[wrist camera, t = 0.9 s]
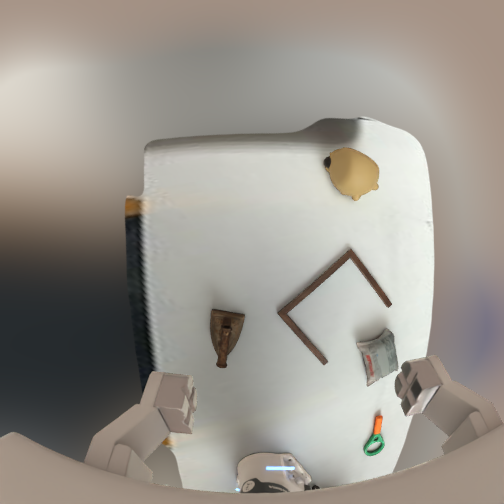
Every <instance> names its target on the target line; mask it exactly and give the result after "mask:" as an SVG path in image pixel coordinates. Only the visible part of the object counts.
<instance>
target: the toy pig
mask: <svg viewBox="0 0 504 504" xmlns="http://www.w3.org/2000/svg"><path fill="white" fill-rule="evenodd" d="M324 165H325V168H326V170H327V171H328V172H329V173H330V178H331V181H332V183H333V185H334V186H335V187H336V188H337V189H338V190H339V191H340V192H341V194H342V195H348V196H352V199H353V200H354V201H357V200H359V198H360V196H361V195H364V194H366V193H368V192H370V191H371V190H377V189H378V187H379V186H378V184H377V182H378V178H379V168H378V165H377V164H376V163H375V162H374V161H373V160H372V159H371V158H369V157H368V156H366V155H365V154H363V153H361V152H359V151H357V150H354V149H351V148H345V147H343V148H342V149H337V150H335V151H333V152H332V153H330V156H329V157H326V158H325V160H324Z"/></svg>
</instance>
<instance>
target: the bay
mask: <svg viewBox="0 0 504 504" xmlns="http://www.w3.org/2000/svg"><path fill="white" fill-rule="evenodd" d="M349 258H351V260H352V261H353V262H354V264H355V265H356V266H357V267H358V269H359V270H360V271H361V273H362V274H363V275H364V277H365V278H366V279H367V281H368V282H369V283H370V285H371V286H372V287H373V289H374V290H375V291H376V293H377V294H378V296H379V297H380V298H381V300H382V301H383V302H384V304H385V305H386V307H388V308H389V307H390V306H391V305H392V303H391V302H390V301H389V299H388V298H387V296H386V295H385V293H384V292H383V291H382V289H381V288H380V286H379V285H378V284H377V282H376V281H375V280H374V278H373V277H372V276H371V274H370V273H369V272H368V270H367V269H366V268H365V266H364V265H363V264H362V262H361V261H360V260H359V258H358V257H357V256H356V254H355V253H354V252H353V251H352V249H350V250H348V251H347V252H346V253H345V254H344V255H343V256H342V257H341V258H340V259H339V260H338V261H337V262H335V263H334V264H333V265H332V266H331V267H330V268H329V269H328V270H327V271H325V272H324V273H323V274H322V275H321V276H320V277H319V278H318V279H316V280H315V281H314V282H313V283H312V284H311V285H310V286H308V287H307V288H306V289H305V290H304V291H303V292H302V293H300V294H299V295H298V296H297V297H296V298H295V299H293V300H292V301H291V302H290V303H289V304H287V305H286V306H285V307H284V308H283V309H281V310H280V311H279V312H278V315H279V316H280V317H281V318H282V319H283V320H284V321H285V323H286V324H287V325H288V326H289V327H290V328H291V329H292V330H293V332H294V333H295V334H296V335H297V336H298V337H299V338H300V339H301V341H302V342H303V343H304V344H305V345H306V346H307V347H308V348H309V349H310V351H311V352H312V353H313V354H314V355H315V356H316V357H317V358H318V359H319V361H320V362H321V363H322V364H323V365H325V364H326V363H328V361H327V360H326V359H325V357H324V356H323V355H322V354H321V353H320V352H319V351H318V350H317V348H316V347H315V346H314V345H313V344H312V343H311V342H310V341H309V339H308V338H307V337H306V336H305V335H304V334H303V333H302V332H301V330H300V329H299V328H298V327H297V326H296V325H295V324H294V322H293V321H292V320H291V319H290V318H289V317H288V316H287V313H288V312H289V311H290V310H292V309H293V308H294V307H295V306H296V305H298V304H299V303H300V302H301V301H302V300H303V299H305V298H306V297H307V296H308V295H309V294H310V293H312V292H313V291H314V290H315V289H316V288H317V287H318V286H319V285H321V284H322V283H323V282H324V281H325V280H326V279H327V278H328V277H330V276H331V275H332V274H333V273H334V272H335V271H336V270H337V269H338V268H340V267H341V266H342V265H343V264H344V263H345V262H346V261H347V260H348V259H349Z"/></svg>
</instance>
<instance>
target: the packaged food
mask: <svg viewBox="0 0 504 504" xmlns="http://www.w3.org/2000/svg"><path fill="white" fill-rule="evenodd" d="M356 344H357V347H358V348H359V350H360V351H361V352H362V354H363V358H364V362H365V365H366V373H367V387H368V386H370V385H371V384H372V383H374V382H375V381H378V380H379V379H380V378H383V377H385V376H387V375H388V374H390V373H391V372H393V371H394V370H395V371H398V361H397V356H396V349H395V344H394V335H393V333H392V332H391V331H390V330H389V329H385V331H384V333H383V334H382V335H381V336H380V337H379V338H378V339H376V340H372V341H366V342H357V343H356Z"/></svg>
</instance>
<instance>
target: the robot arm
mask: <svg viewBox="0 0 504 504" xmlns="http://www.w3.org/2000/svg"><path fill="white" fill-rule="evenodd" d="M401 369H402V372H400V373H399V374H398V375H397V377H396V380H395V392H396V394H397V396H398V397H399V398H401V399H402V402H401V407H402V409H403V412H404V414H405V416H410V415H414V414H417V413H421V412H422V414H424V415H425V416H426V417H427V418H428V419H429V420H431V421H432V422H433V423H434V424H435V425H436V426H437V427H439V428H440V429H441V430H442V431H443V432H444V433H446V434H447V435H448V436H449V438H448V439H447V440H446V441H445V442H444V443H443V444H442V449H443V452H444V455H442V456H440V457H437V458H435V459H432V460H430V461H427V462H424V463H422V464H419V465H416V466H413V467H411V468H408V469H405V470H402V471H398V472H395V473H392V474H388V475H385V476H381V477H377V478H373V479H369V480H365V481H361V482H356V483H351V484H346V485H341V486H335V487H329V488H322V489H320V488H319V487H318V486H313V487H312V490H311V489H310V486H308V484H309V483H310V482H311V480H312V479H311V477H310V475H309V474H308V473H307V472H306V471H305V469H304V468H303V467H302V466H301V465H300V464H299V462H298V461H297V460H296V459H295V457H294V456H293V455H292V454H291V453H283V454H274V453H256V454H252V455H249V456H247V457H245V458H244V459H242V460H241V461H240V462H239V464H238V466H237V471H238V476H237V483H239V489H236V491H239V493H224V492H210V491H200V490H191V489H184V488H177V487H171V486H165V485H159V484H155V483H151V482H152V477H153V472H152V471H151V470H150V469H149V468H148V467H147V466H146V465H145V463H144V462H143V461H144V460H145V459H146V458H147V457H148V456H149V455H150V454H151V453H152V452H153V451H154V450H155V449H156V448H157V447H158V446H159V445H160V444H161V443H162V442H163V441H164V440H165V438H166V437H167V436H168V435H169V434H170V432H176V433H187V434H192V431H193V425H194V417H193V413H194V412H195V411H196V408H197V392H196V388H195V387H193V382H194V381H193V377H192V375H183V374H173V373H164V372H155V371H152V373H151V374H150V376H149V379H148V381H147V384H146V387H145V390H144V393H143V396H142V399H141V402H140V404H135V405H134V406H133V407H131V408H130V409H129V410H128V411H126V412H125V413H124V414H122V415H121V416H120V417H118V418H117V419H116V420H114V421H113V422H112V423H111V424H109V425H108V426H106V427H105V428H104V429H102V430H101V431H100V432H98V433H97V434H95V435H94V437H93V439H92V442H91V444H90V447H89V450H88V453H87V456H86V458H85V461H84V463H81V462H79V461H76V460H74V459H71V458H69V457H66V456H64V455H62V454H59V453H57V452H55V451H53V450H50V449H48V448H46V447H44V446H42V445H40V444H38V443H36V442H34V441H32V440H30V439H28V438H26V437H25V436H23V435H21V434H19V433H16V432H12V433H9V434H7V435H5V436H3V437H1V438H0V504H504V423H503V422H502V420H501V418H500V416H499V415H498V413H497V411H496V409H495V407H494V406H493V404H492V403H491V402H490V401H488V400H487V399H485V398H483V397H481V396H480V395H478V394H476V393H475V392H473V391H471V390H470V389H468V388H466V387H465V386H463V385H461V384H460V383H458V382H456V381H452V380H451V378H450V376H449V375H448V373H447V371H446V369H445V368H444V366H443V364H442V363H441V362H440V360H439V358H438V357H437V356H436V355H433V356H428V357H423V358H419V359H414V360H410V361H405V362H404V363H403V364H402V366H401ZM315 488H316V489H315Z"/></svg>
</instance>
